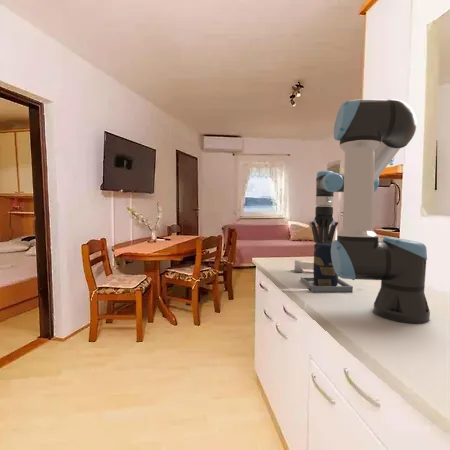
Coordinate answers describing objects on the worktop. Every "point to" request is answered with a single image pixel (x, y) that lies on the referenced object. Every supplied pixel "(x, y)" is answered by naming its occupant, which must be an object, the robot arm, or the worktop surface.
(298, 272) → the crank base
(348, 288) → the tray
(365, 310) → the worktop surface
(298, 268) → the crank
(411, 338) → the worktop surface
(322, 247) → the canister
